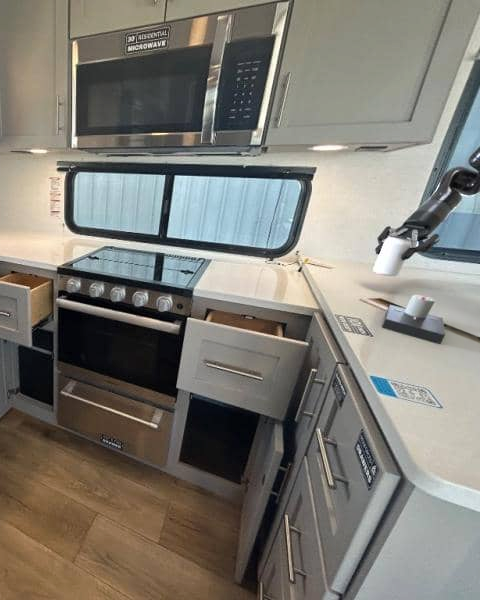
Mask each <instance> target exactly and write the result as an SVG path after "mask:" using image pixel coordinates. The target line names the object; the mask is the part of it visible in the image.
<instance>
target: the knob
mask: <svg viewBox="0 0 480 600" xmlns="http://www.w3.org/2000/svg"><path fill="white" fill-rule="evenodd" d="M435 302H436V300H435V299H434V298H432V297H429V296H425V295H421V294H412V296H411V298H410V300H409V302H408V303H407V306H406V307H405V308H406V310H405V313H406V314H408V315H411V316H414V317H418V318H426V317H427V315H428V314H429V313H430V312H431V310H432V308H433V306H434V304H435Z"/></svg>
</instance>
